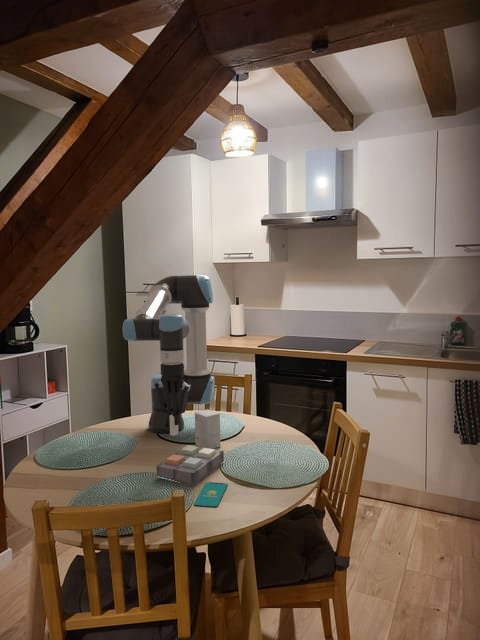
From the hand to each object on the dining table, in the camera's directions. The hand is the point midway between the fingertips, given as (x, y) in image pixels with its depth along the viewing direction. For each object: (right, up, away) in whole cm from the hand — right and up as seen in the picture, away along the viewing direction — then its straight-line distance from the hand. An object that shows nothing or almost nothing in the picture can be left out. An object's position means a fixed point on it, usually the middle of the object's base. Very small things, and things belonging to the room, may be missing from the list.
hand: (174, 434), depth 157 cm
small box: (+9, -11, +27) cm, 30 cm away
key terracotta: (0, -11, +1) cm, 11 cm away
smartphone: (+13, -15, -13) cm, 24 cm away
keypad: (+5, -13, +4) cm, 15 cm away
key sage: (+4, -10, +10) cm, 15 cm away
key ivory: (+10, -10, +7) cm, 16 cm away
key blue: (+6, -11, -1) cm, 13 cm away
